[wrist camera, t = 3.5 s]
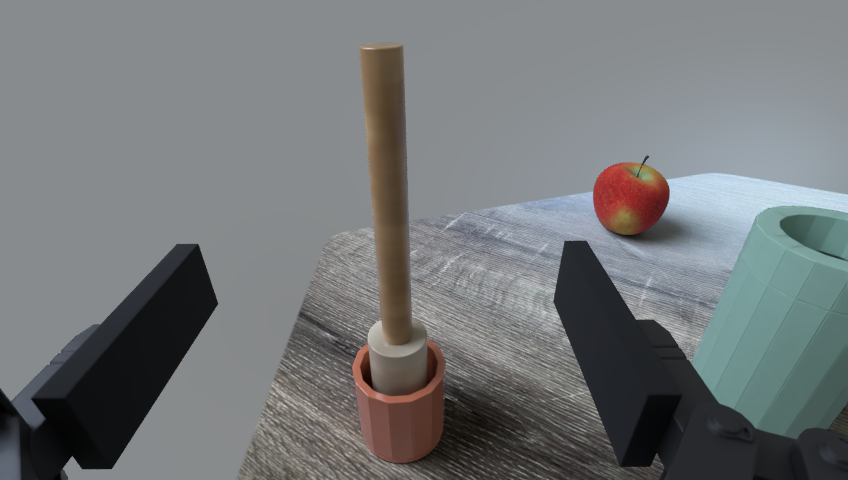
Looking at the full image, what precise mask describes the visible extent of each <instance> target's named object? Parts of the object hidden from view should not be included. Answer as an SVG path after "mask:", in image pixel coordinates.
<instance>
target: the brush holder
mask: <svg viewBox="0 0 848 480" xmlns="http://www.w3.org/2000/svg"><path fill="white" fill-rule="evenodd" d="M427 361H428V385H427V387H426V388H424V389H421V390H419V391H417V392H415V393H413V394H411V395H404V396H388V395H385V394H382V393H379V392H376V391H373V385H372V376H371V366H370V357H369V348H368V343H367V344H366V345H365V346H364V347H363V348H362V349H361V350H359V352H358V353H357V356H356V358H355V361H354V364H353V366H352V371H353V378H354V385H355V393H356V400H357V407H358V414H359V421H360V427H361V433H362V437H363V440H364V442H365V444H366V446H367V447H368V449H369V450H370V451H371V452H372V453H373V454H374V455H376V456H377V457H379V458H381V459H383V460H385V461H388V462H393V463H408V462H412V461H416V460H418V459H421V458H422V457H424V456H426V455H427V454H429V453H430V452H431V451H432V450H433V449H434V448H435V447H436V445H437V444H438V442H439V441H440V438H441V436H442V433H443V427H444V415H445V373H446V361H445V359H444V357H443V355H442V352H441V350H440V348H439V347H438V346H437V345H436V344H434V343H433V342H432V341H430V340H429V339H428V338H427Z"/></svg>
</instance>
